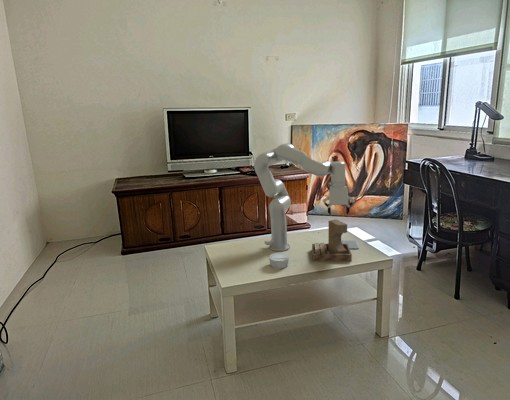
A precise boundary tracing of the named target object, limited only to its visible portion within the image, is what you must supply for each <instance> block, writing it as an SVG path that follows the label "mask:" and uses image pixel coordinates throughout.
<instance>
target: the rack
mask: <svg viewBox="0 0 510 400" xmlns="http://www.w3.org/2000/svg"><path fill="white" fill-rule="evenodd" d="M324 246H325V254H315V244H314V243H311V252H312V261H313V262H352V259H353V258H352V257H353V255H352V251H351V249H349V246H348V244H343V246H344V248H345V249H346V250H347V254H330V253H328V243H324ZM319 247H320V243H319Z"/></svg>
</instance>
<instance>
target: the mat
mask: <svg viewBox="0 0 510 400" xmlns="http://www.w3.org/2000/svg"><path fill="white" fill-rule="evenodd" d="M341 242H342V244H348V246H349V249H350V250H359V246H358V243H357V242H356V240H341Z"/></svg>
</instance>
